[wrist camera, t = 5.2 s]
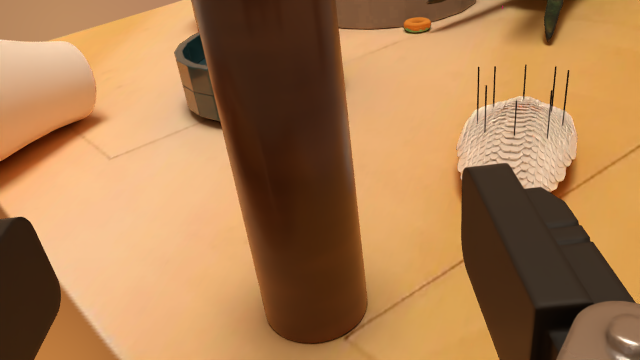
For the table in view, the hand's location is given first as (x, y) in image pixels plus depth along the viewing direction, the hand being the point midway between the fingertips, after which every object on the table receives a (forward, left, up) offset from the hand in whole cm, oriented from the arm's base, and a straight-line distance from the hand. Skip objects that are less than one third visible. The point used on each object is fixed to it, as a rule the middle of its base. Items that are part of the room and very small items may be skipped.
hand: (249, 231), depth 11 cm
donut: (+2, -48, -10) cm, 49 cm away
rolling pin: (+3, -9, -11) cm, 15 cm away
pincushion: (-4, -22, -11) cm, 25 cm away
